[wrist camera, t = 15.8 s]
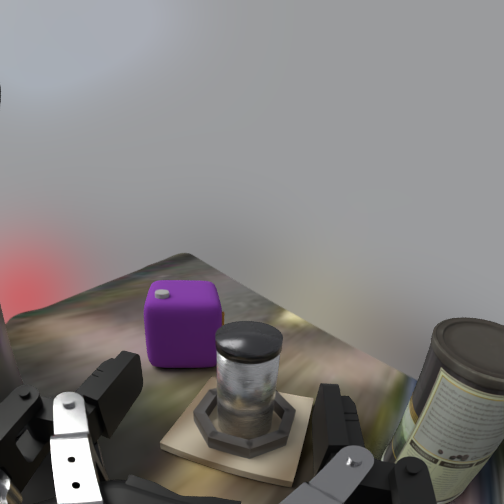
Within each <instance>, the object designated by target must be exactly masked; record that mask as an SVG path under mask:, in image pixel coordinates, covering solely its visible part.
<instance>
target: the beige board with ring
mask: <svg viewBox="0 0 504 504" xmlns="http://www.w3.org/2000/svg"><path fill="white" fill-rule="evenodd" d="M313 399H314V398H308V397H302V396H297V395H291V394H286V393H281V392H278V391H277V390H276V393H275V402H274V410H273V418H272V426H271V429H270V431H269V432H268V433H267V434H266V435H263V436H260V437H257V438H254V439H251V440H247V439H243V438H239V437H235V436H232V435H228V434H225V433H222V432H221V430H220V429H219V427H218V414H217V378H216V377H212V376H211V378H210V379H209V380H208V382H207V383H206V384H205V386H204V387H203V388H202V389H201V391H200V392H199V393H198V395H197V396H196V397H195V399H194V400H193V401H192V402H191V404H190V405H189V406H188V408H187V409H186V410H185V411H184V413H183V414H182V415H181V416H180V418H179V419H178V420H177V422H176V423H175V424H174V425H173V427H172V428H171V429H170V430H169V432H168V433H167V434H166V435H165V437H164V438H163V439H162V440H161V441H160V446H161V449H162V450H165V451H167V452H170V453H172V454H175V455H177V456H180V457H183V458H185V459H188V460H191V461H194V462H196V463H199V464H202V465H205V466H208V467H211V468H214V469H218V470H221V471H224V472H228V473H231V474H235V475H238V476H242V477H246V478H250V479H254V480H258V481H262V482H266V483H271V484H276V485H281V486H286V487H291V486H292V483H293V480H294V477H295V473H296V469H297V466H298V462H299V458H300V454H301V450H302V446H303V442H304V438H305V434H306V430H307V426H308V421H309V417H310V412H311V408H312V403H313Z"/></svg>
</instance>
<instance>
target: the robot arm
mask: <svg viewBox="0 0 504 504" xmlns="http://www.w3.org/2000/svg"><path fill="white" fill-rule="evenodd" d="M0 98H1V87H0ZM0 102H1V99H0ZM142 387H143V377H142V369H141V361H140V356H139V355H138V354H135V353H131V352H127V351H122V352H121V353H120V354H119V355H118V356H117V357H116V358H115V359H113V358H111V359H109V360H107V361H105V362H103V363H102V364H101V365H100V366H99V367H98V368H97V370H95V371H94V372H93V373H92V375H90V376H89V377H88V378H87V380H86V381H85V382H84V383H83V384H82V385H81V386H80V387H79V388H78V389H77V390H76V391H75V392H64V393H61V394H59V395H58V396H57V397H56V398H55V399H54V398H48V397H42V396H40V394H39V391H38V389H37V388H36V387H34V386H32V385H24V384H23V382H22V379H21V376H20V373H19V370H18V367H17V364H16V361H15V358H14V355H13V351H12V348H11V344H10V341H9V337H8V334H7V330H6V326H5V322H4V318H3V313H2V309H1V304H0V504H21V503H22V495H21V492H22V490H23V489H24V487H25V486H26V484H27V483H28V481H29V480H30V478H31V477H32V475H33V474H34V472H35V471H36V469H37V468H38V467H39V465H40V464H41V462H42V461H43V459H44V458H45V456H46V455H47V454H48V452H49V451H50V449H51V457H52V467H53V475H54V483H55V490H56V496H57V497H56V498H52V499H49V500H45V501H42V502H38V503H34V504H241V501H234V500H228V499H222V498H217V497H197V496H181V495H178V494H176V493H174V492H172V491H170V490H168V489H166V488H164V487H163V486H161V485H159V484H157V483H155V482H152V481H149V480H146V479H143V478H140V477H137V476H134V475H131V474H130V475H129V477H128V479H127V480H109V479H108V476H107V473H106V470H105V466H104V462H103V458H102V454H101V450H100V446H99V442H98V438H99V437H100V436H101V435H102V436H104V437H107V438H109V439H110V437H111V436H112V434H113V433H114V431H115V430H116V428H117V427H118V425H119V424H120V422H121V421H122V419H123V418H124V416H125V415H126V413H127V412H128V410H129V409H130V407H131V406H132V404H133V403H134V401H135V400H136V399H137V397H138V396H139V394H140V392H141V390H142ZM26 429H27V430H26ZM25 430H26V431H25ZM24 431H25V432H24ZM23 432H24V433H23ZM22 433H23V435H22V436H21V437H20V438H19V440H18V441H17V442H16V437H18V436H19V435H21V434H22ZM312 437H313V467H314V478H313V479H312V480H311V481H310V482H304V483H303V484H301V485H300V486H299V487H298V488H297V489H296V490H294V491H293V492H292V493H291V494H290V495H289V496H288V497H286V498H285V499H284V500H283V501H282V502H281V503H279V504H437V501H436V497H435V493H434V489H433V485H432V481H431V477H430V473H429V470H428V467H427V465H426V463H425V462H424V461H423V460H421V459H419V458H417V457H412V456H408V457H403V458H401V459H400V460H398V461H397V463H396V464H395V463H390V462H384V461H380V460H377V459H375V458H374V457H373V455H372V453H371V452H370V451H369V450H367V449H366V448H365V446H364V442H363V437H362V432H361V428H360V423H359V419H358V414H357V410H356V405H355V403H354V402H353V401H352V399H351V398H350V397H349V396H341V395H340V389H339V385H338V384H324V383H321V384H320V387H319V391H318V394H317V398H316V401H315V405H314V409H313V414H312Z"/></svg>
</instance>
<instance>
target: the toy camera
mask: <svg viewBox="0 0 504 504" xmlns="http://www.w3.org/2000/svg"><path fill="white" fill-rule="evenodd" d="M144 324H145V335H146V346H147V354H148V358H149V361H150V363H151V364H152V365H153V366H156V367H164V368H205V367H213V366H216V365H217V350H216V347H215V334H216V331H217V330H218V329H219V328H220V327H222V326H223V325H224V312H222V308H221V304H220V300H219V296H218V292H217V289H216V287H215V285H214V284H213V283H211V282H208V281H186V280H161V281H156V282H154V283H153V284H152V285H151V287H150V289H149V292H148V295H147V298H146V302H145V306H144Z"/></svg>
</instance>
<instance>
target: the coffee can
mask: <svg viewBox="0 0 504 504" xmlns="http://www.w3.org/2000/svg"><path fill="white" fill-rule="evenodd" d="M503 439H504V325H500V324H498V323H495V322H491V321H487V320H482V319H476V318H452V319H448V320H444V321H442V322H440V323H438V324H437V326H436V327H435V328H434V330H433V334H432V338H431V344H430V348H429V351H428V354H427V356H426V359H425V363H424V365H423V368H422V371H421V374H420V376H419V379H418V381H417V384H416V387H415V389H414V392H413V394H412V397H411V399H410V401H409V404H408V406H407V408H406V410H405V413H404V415H403V417H402V419H401V421H400V423H399V426H398V428H397V430H396V432H395V434H394V436H393V438H392V440H391V442H390V444H389V446H388V447H387V448H386V450H385V451H384V453H383V456H382V459H381V461H384V462H390V463H395V464H396V463H397V461H398V460H400V459H401V458H403V457H408V456H412V457H417V458H419V459H421V460H423V461H424V462H425V463H426V465H427V467H428V470H429V473H430V477H431V481H432V485H433V489H434V493H435V497H436V501H437V504H445V503H448V502H451V501H452V500H454V499H455V498H457V497H458V496H459V495H460V494H461V493H462V492H463V491H464V490H465V489H466V487H467V486H468V484H469V483H470V482H471V481H472V480H473V478H474V477H475V476H476V475H477V474H478V472H479V471H480V470H481V469H482V467H483V466H484V465H485V463H486V462H487V461H488V460H489V458H490V457H491V456H492V454H493V453H494V452H495V450H496V449H497V447H498V446H499V444H500V443H501V442H502V440H503Z"/></svg>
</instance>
